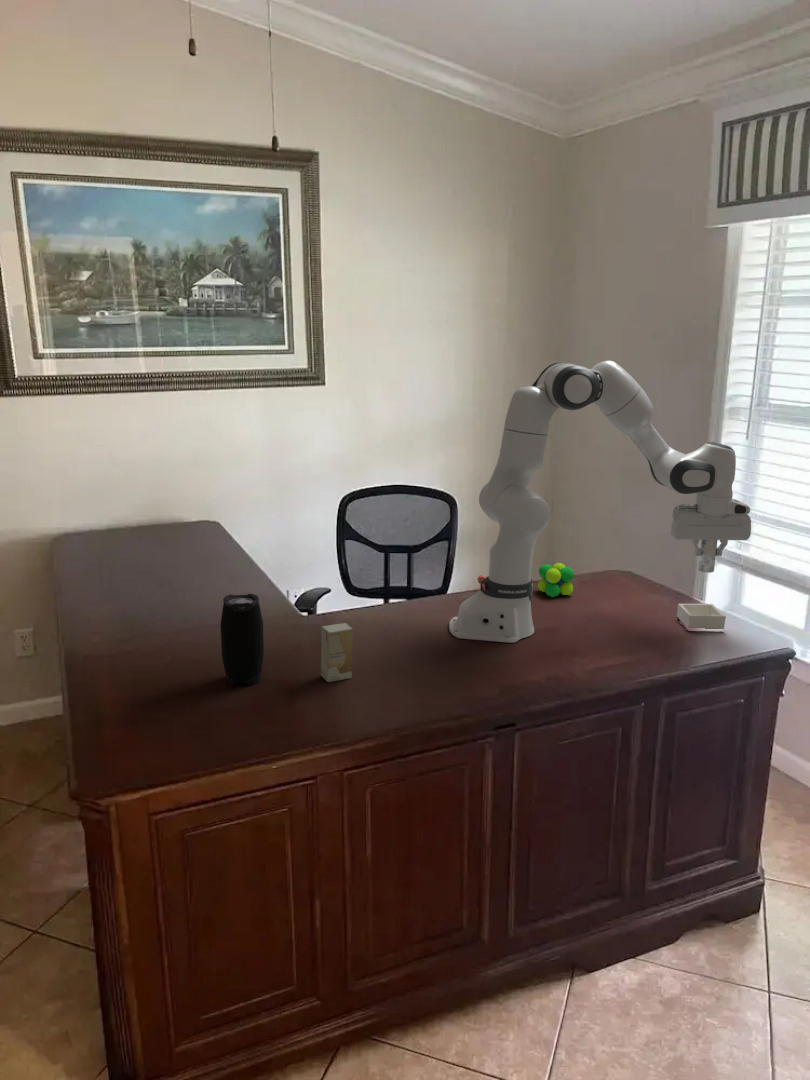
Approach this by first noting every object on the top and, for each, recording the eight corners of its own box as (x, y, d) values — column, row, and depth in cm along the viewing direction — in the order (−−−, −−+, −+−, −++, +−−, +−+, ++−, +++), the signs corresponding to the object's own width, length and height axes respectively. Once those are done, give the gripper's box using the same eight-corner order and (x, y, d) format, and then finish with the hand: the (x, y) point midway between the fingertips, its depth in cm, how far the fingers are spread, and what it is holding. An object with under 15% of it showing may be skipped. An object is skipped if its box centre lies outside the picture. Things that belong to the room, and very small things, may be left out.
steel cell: (701, 572, 228) (705, 536, 225) (696, 567, 232) (699, 532, 229) (716, 572, 228) (720, 536, 225) (710, 568, 232) (714, 532, 229)
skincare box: (327, 683, 195) (327, 632, 192) (320, 675, 199) (319, 626, 195) (353, 678, 198) (353, 628, 194) (345, 670, 201) (345, 621, 198)
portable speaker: (216, 678, 196) (212, 597, 191) (252, 668, 202) (250, 589, 197) (234, 691, 190) (231, 607, 185) (271, 680, 196) (269, 599, 190)
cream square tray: (687, 631, 229) (689, 615, 228) (676, 618, 239) (678, 603, 237) (723, 632, 229) (725, 616, 228) (711, 619, 239) (712, 604, 237)
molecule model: (549, 600, 252) (575, 597, 255) (550, 571, 250) (577, 568, 253) (534, 590, 260) (560, 588, 263) (536, 563, 258) (562, 560, 261)
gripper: (677, 507, 222) (672, 558, 226) (756, 507, 222) (750, 559, 226) (670, 501, 228) (665, 551, 232) (747, 502, 228) (740, 552, 232)
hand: (707, 555), depth 229 cm, fingers closed on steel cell, 4 cm apart
